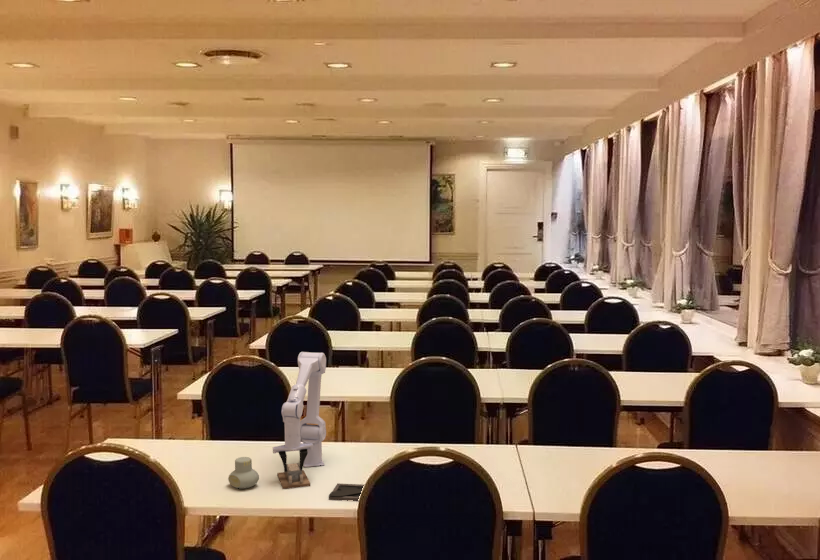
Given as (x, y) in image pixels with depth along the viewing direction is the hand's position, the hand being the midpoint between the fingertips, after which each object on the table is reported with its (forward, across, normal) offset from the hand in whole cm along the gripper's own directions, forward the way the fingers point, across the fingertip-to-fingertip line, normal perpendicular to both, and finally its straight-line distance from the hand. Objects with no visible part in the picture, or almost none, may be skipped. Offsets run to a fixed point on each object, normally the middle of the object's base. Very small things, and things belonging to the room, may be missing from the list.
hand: (293, 470), depth 293 cm
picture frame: (+5, +20, -20) cm, 29 cm away
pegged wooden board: (+4, 0, 0) cm, 4 cm away
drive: (+3, 0, 0) cm, 3 cm away
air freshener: (+4, -18, 0) cm, 19 cm away
